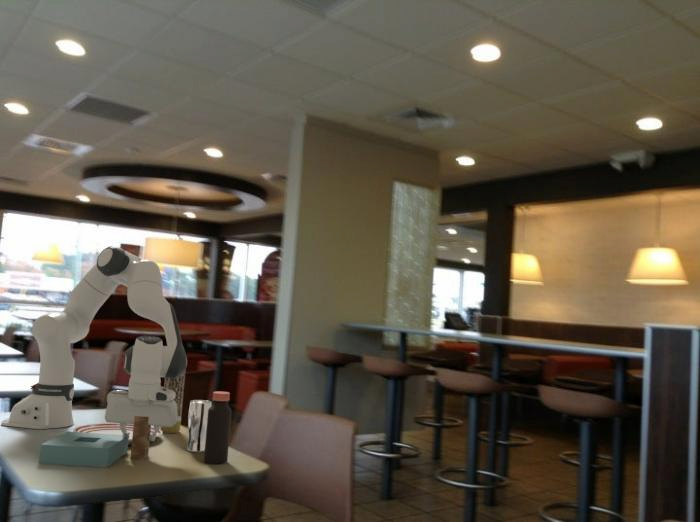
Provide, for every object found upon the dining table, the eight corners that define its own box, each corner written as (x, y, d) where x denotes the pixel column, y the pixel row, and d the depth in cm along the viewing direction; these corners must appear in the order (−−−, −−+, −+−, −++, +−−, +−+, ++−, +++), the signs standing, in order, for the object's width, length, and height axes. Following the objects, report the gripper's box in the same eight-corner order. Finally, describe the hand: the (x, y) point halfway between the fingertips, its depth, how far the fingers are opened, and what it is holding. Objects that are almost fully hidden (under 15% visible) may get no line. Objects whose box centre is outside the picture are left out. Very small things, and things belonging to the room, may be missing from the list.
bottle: (207, 458, 183) (213, 390, 185) (229, 459, 183) (235, 392, 184) (200, 463, 176) (207, 393, 178) (224, 465, 176) (230, 394, 178)
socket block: (38, 463, 164) (40, 444, 165) (65, 448, 182) (67, 431, 182) (106, 467, 165) (108, 448, 165) (127, 452, 183) (128, 435, 183)
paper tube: (182, 431, 219) (189, 360, 221) (175, 434, 212) (182, 361, 214) (164, 429, 220) (171, 359, 222) (156, 432, 213) (163, 360, 215)
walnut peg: (130, 458, 176) (134, 416, 177) (134, 455, 180) (138, 413, 181) (144, 459, 176) (148, 417, 177) (148, 456, 180) (152, 414, 181)
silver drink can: (187, 447, 195) (191, 399, 196) (209, 448, 196) (213, 400, 197) (183, 452, 188) (187, 402, 189) (205, 453, 189) (210, 403, 190)
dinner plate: (138, 428, 219) (139, 419, 219) (177, 444, 199) (178, 433, 199) (58, 435, 200) (60, 424, 200) (92, 453, 180) (93, 441, 180)
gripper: (104, 390, 176) (99, 439, 175) (176, 396, 177) (171, 444, 176) (111, 387, 182) (106, 434, 181) (181, 392, 183) (176, 439, 182)
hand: (139, 439), depth 179 cm, fingers open, 6 cm apart
